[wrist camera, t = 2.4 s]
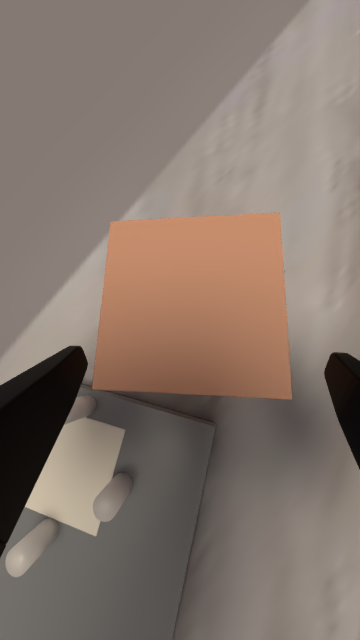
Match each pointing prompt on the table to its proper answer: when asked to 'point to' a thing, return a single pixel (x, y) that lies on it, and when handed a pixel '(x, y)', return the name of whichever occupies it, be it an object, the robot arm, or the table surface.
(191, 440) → the base plate
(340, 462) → the table surface
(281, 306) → the terracotta block
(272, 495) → the table surface
